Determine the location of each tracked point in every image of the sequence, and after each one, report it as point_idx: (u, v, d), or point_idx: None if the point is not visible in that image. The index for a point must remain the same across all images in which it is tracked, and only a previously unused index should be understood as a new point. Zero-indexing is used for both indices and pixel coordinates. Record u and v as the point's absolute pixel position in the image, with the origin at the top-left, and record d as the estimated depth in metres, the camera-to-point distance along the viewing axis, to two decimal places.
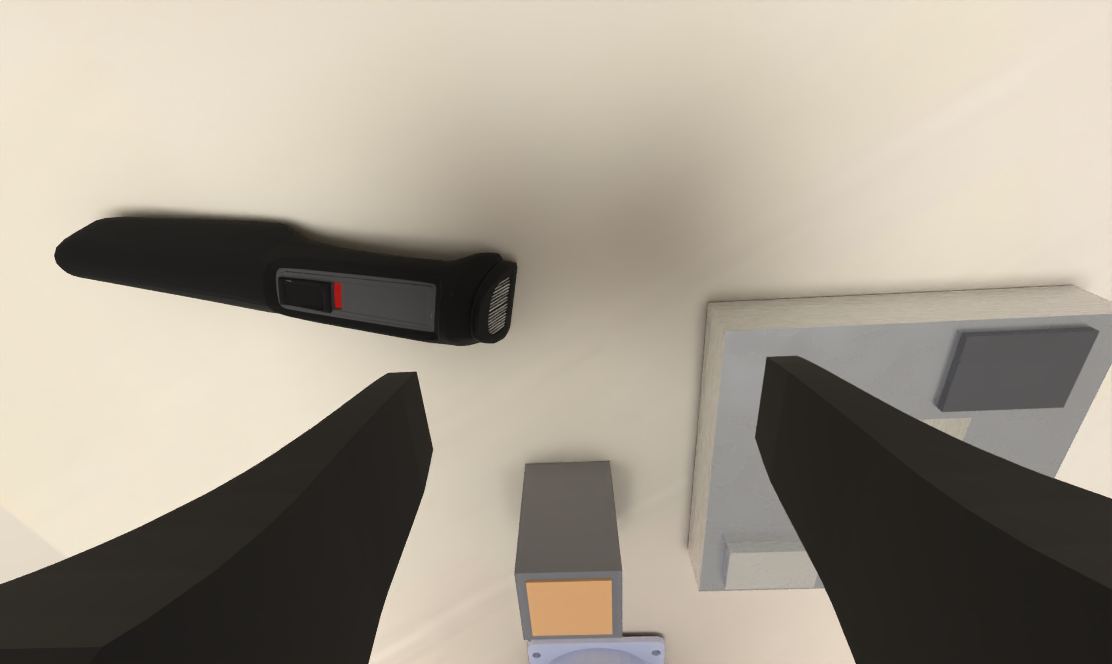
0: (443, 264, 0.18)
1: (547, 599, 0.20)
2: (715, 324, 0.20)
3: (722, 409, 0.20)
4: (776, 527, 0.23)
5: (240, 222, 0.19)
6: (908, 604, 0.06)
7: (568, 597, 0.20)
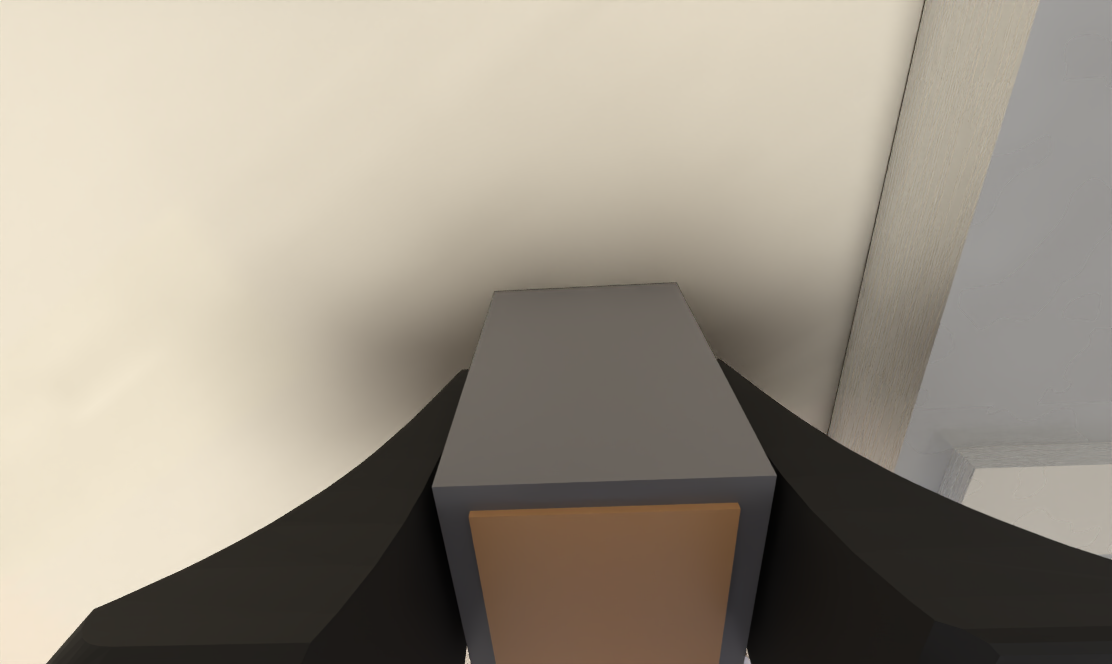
0: None
1: (537, 571, 0.07)
2: None
3: (1052, 9, 0.07)
4: (1084, 408, 0.10)
5: None
6: (781, 607, 0.06)
7: (600, 565, 0.06)
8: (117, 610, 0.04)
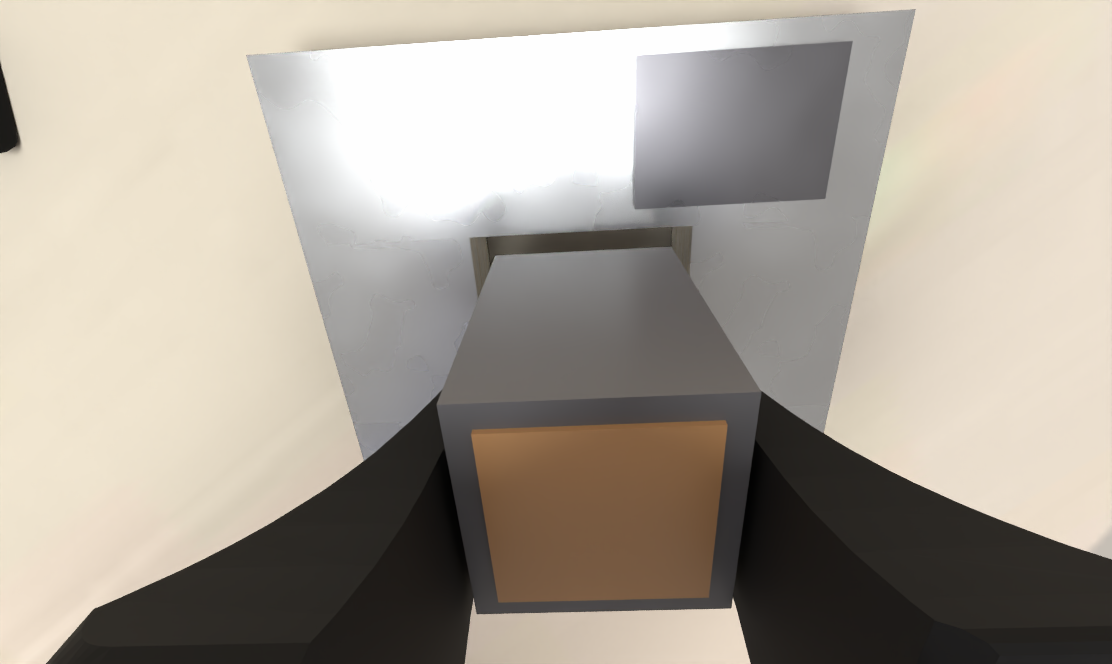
0: None
1: (535, 491, 0.07)
2: None
3: (299, 212, 0.13)
4: None
5: None
6: (781, 607, 0.06)
7: (596, 484, 0.07)
8: (117, 610, 0.04)
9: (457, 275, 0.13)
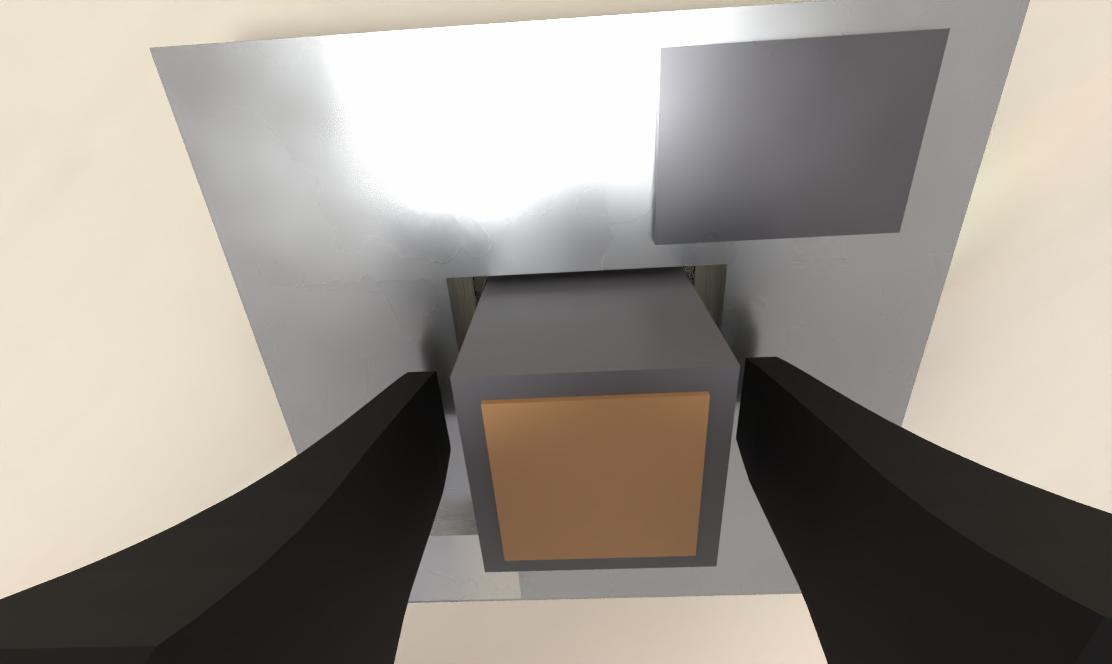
0: None
1: (538, 457, 0.08)
2: None
3: (231, 247, 0.10)
4: None
5: None
6: (875, 605, 0.06)
7: (592, 450, 0.08)
8: None
9: (432, 323, 0.11)
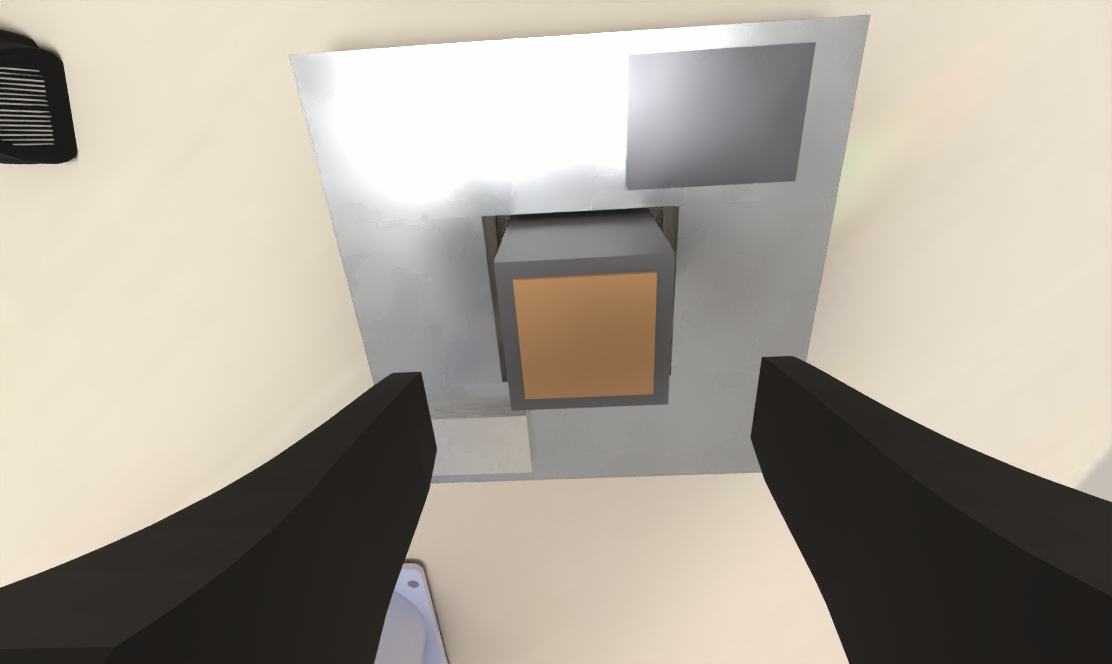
0: None
1: (549, 318, 0.12)
2: None
3: (331, 193, 0.14)
4: (468, 386, 0.17)
5: None
6: (900, 604, 0.06)
7: (583, 312, 0.12)
8: None
9: (470, 250, 0.15)
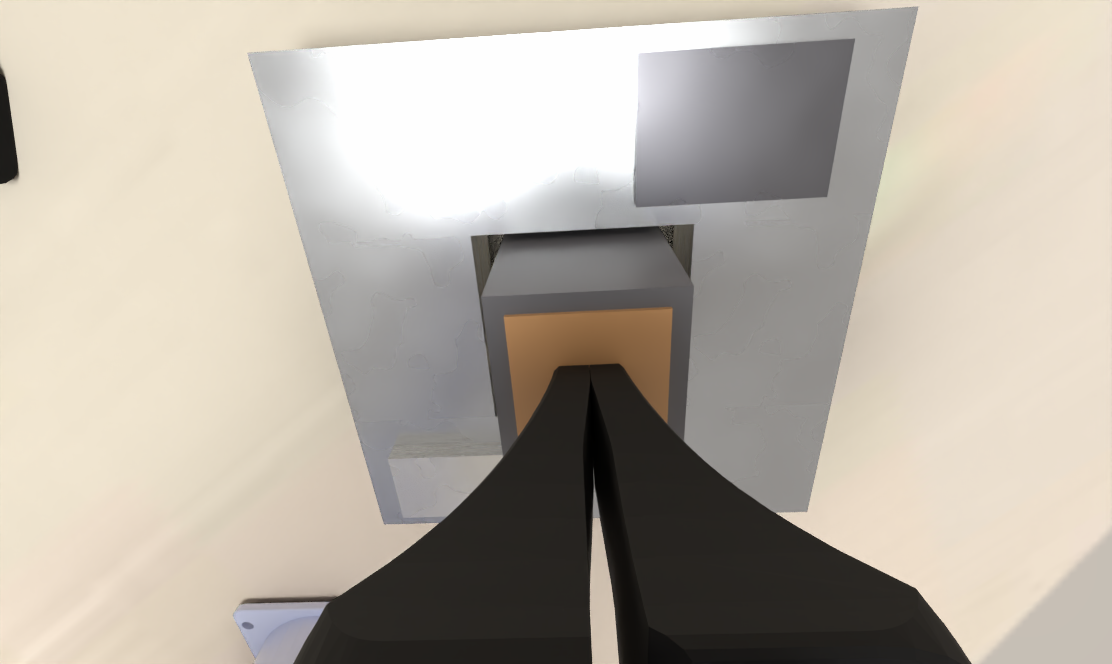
0: None
1: (546, 359, 0.10)
2: None
3: (300, 210, 0.13)
4: (458, 421, 0.15)
5: None
6: (622, 610, 0.06)
7: (586, 353, 0.10)
8: (355, 604, 0.04)
9: (458, 273, 0.13)
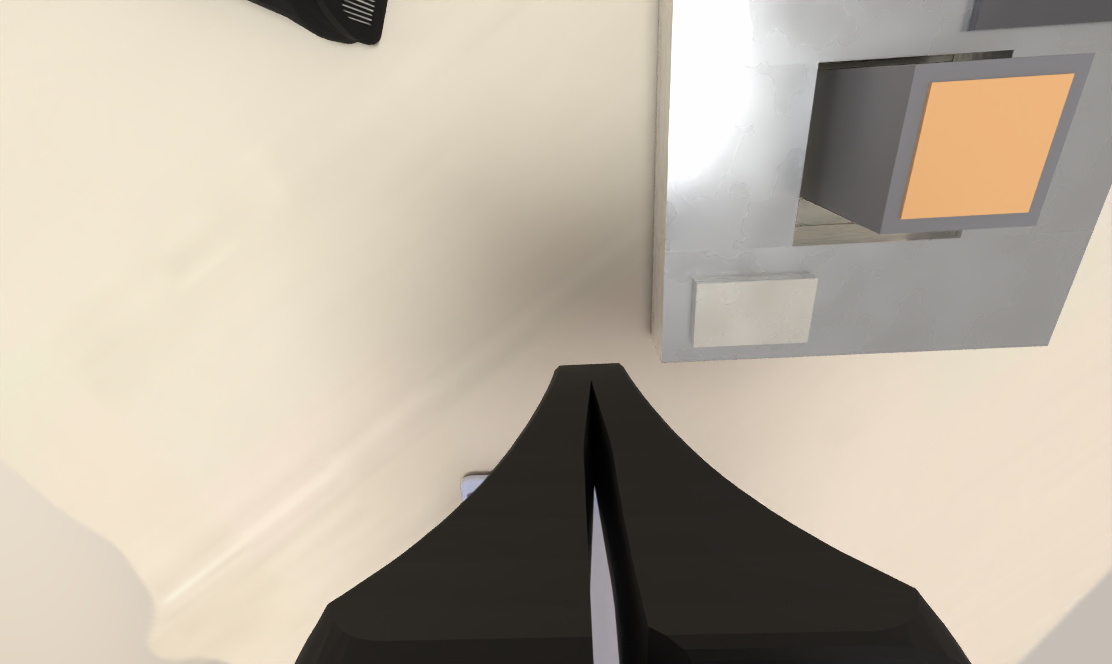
0: None
1: (953, 125, 0.12)
2: None
3: (679, 38, 0.15)
4: (757, 251, 0.17)
5: None
6: (622, 611, 0.06)
7: (990, 118, 0.12)
8: (356, 604, 0.04)
9: (798, 100, 0.15)
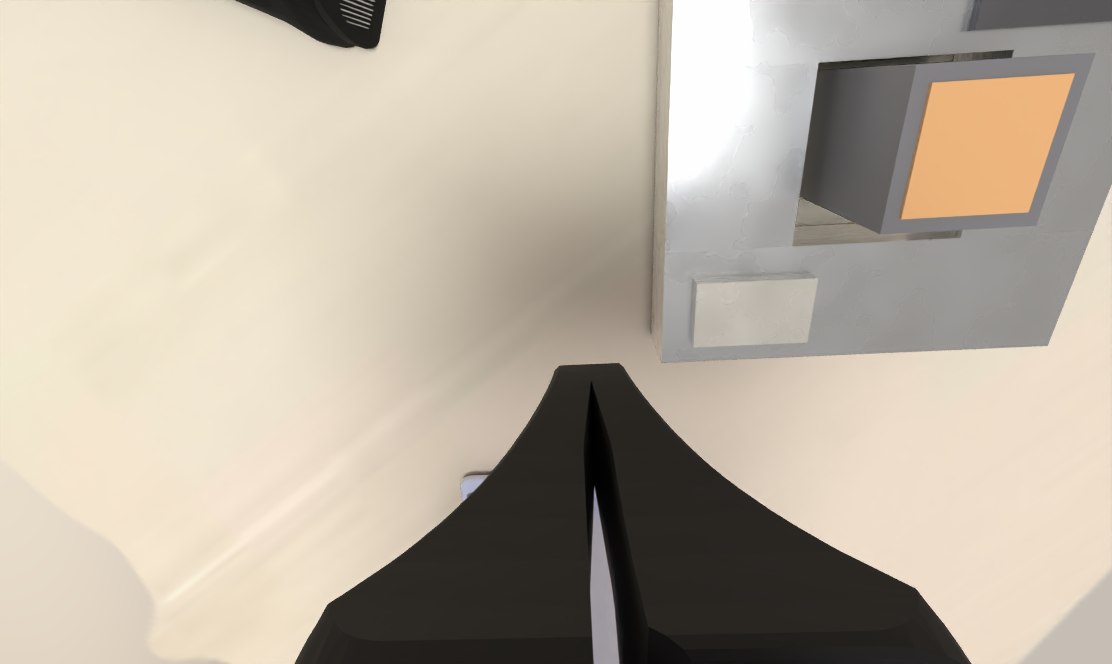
0: None
1: (954, 125, 0.12)
2: None
3: (679, 38, 0.15)
4: (757, 251, 0.17)
5: None
6: (622, 611, 0.06)
7: (990, 118, 0.12)
8: (356, 604, 0.04)
9: (798, 100, 0.15)
